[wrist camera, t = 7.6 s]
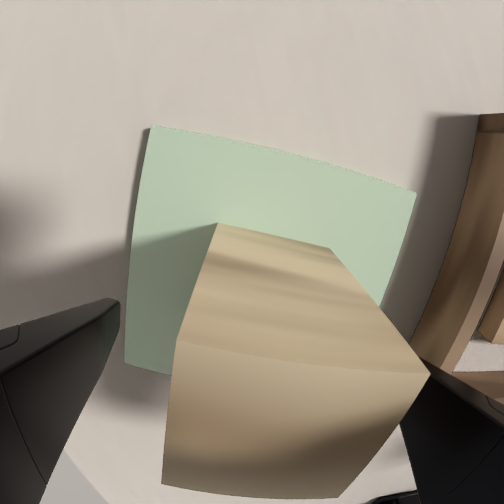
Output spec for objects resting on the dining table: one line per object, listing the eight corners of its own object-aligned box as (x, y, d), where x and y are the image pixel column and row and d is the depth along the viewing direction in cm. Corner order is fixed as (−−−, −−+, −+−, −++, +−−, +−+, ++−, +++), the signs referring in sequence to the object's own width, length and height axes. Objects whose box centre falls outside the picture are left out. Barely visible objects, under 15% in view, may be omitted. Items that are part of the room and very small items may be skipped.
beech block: (297, 342, 14) (337, 497, 6) (197, 323, 13) (161, 483, 6) (329, 248, 12) (430, 373, 5) (218, 222, 12) (176, 339, 4)
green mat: (334, 394, 15) (336, 399, 15) (126, 358, 14) (124, 363, 14) (412, 191, 12) (417, 193, 12) (154, 126, 11) (151, 125, 11)
